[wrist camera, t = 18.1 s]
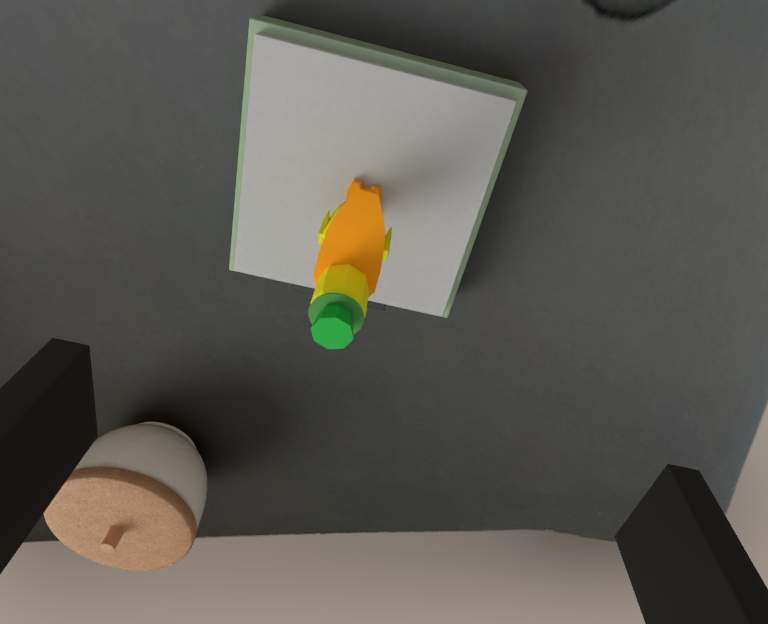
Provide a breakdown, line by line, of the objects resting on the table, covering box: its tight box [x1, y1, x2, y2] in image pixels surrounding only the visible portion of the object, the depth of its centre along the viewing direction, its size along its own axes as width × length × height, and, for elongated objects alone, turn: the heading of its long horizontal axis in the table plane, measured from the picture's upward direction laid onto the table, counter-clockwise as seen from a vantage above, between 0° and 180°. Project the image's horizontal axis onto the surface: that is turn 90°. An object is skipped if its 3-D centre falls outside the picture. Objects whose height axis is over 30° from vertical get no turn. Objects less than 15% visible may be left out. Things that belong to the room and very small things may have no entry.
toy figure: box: [308, 179, 392, 349], centre depth 24 cm, size 7×4×12 cm, turn 165°
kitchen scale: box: [229, 15, 527, 318], centre depth 30 cm, size 14×15×3 cm
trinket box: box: [44, 422, 207, 571], centre depth 41 cm, size 11×11×9 cm
